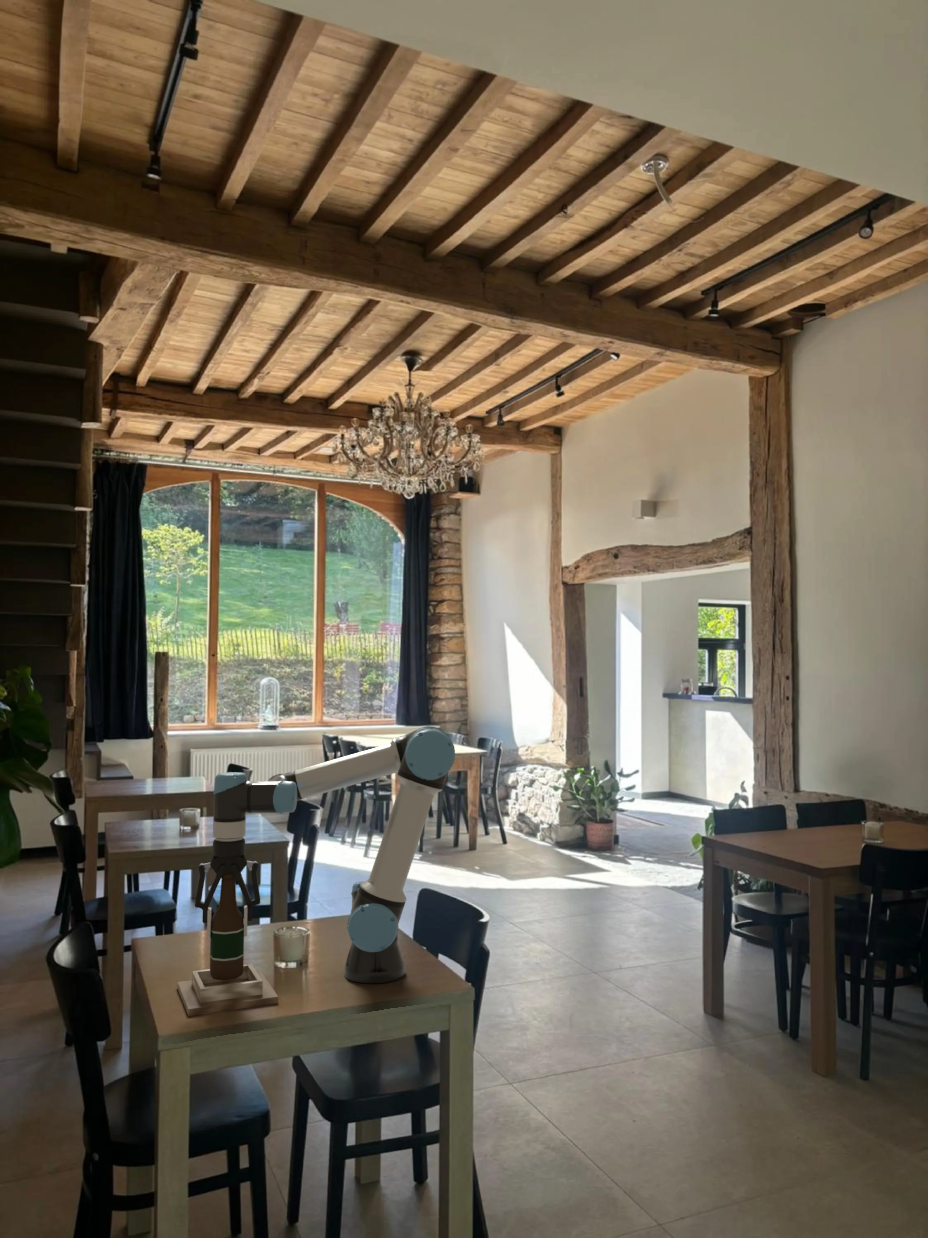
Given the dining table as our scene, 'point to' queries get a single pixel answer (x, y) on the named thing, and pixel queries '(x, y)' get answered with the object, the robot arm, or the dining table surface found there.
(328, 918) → the dining table surface
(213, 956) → the beer bottle
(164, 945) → the dining table surface
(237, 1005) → the rim board
